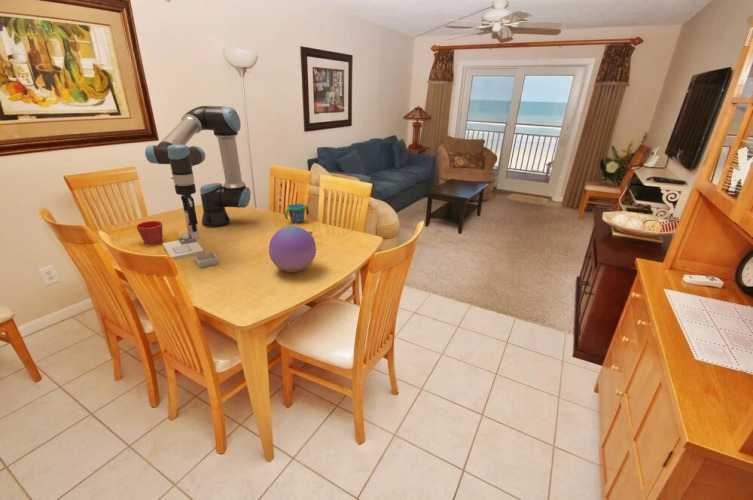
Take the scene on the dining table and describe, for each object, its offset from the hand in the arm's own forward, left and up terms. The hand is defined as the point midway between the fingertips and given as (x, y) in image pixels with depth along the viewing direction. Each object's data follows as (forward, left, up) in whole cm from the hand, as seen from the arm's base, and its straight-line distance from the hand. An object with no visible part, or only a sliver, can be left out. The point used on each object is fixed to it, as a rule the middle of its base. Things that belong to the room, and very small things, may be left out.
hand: (194, 236), depth 151 cm
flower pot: (+13, -35, -12) cm, 39 cm away
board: (+3, -18, -12) cm, 22 cm away
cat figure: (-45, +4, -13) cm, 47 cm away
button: (-1, -24, -10) cm, 26 cm away
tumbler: (0, 0, -1) cm, 1 cm away
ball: (-31, +32, -12) cm, 46 cm away
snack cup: (-62, -25, -12) cm, 68 cm away
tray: (-2, +4, -12) cm, 13 cm away
